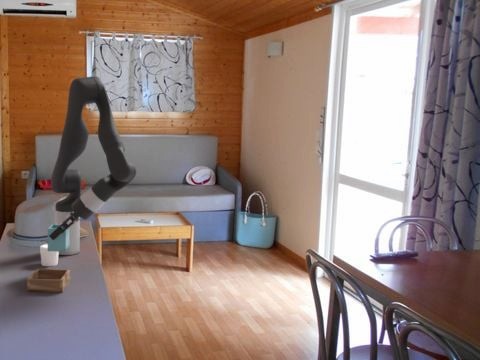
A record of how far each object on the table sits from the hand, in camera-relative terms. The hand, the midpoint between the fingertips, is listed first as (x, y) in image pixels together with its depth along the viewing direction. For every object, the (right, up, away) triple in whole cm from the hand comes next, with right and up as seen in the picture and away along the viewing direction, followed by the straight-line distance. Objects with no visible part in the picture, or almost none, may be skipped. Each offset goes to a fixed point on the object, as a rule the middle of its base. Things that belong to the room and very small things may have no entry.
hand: (53, 235), depth 200 cm
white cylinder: (-6, -12, +13) cm, 19 cm away
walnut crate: (+2, -16, -10) cm, 19 cm away
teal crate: (+1, -5, +1) cm, 5 cm away
